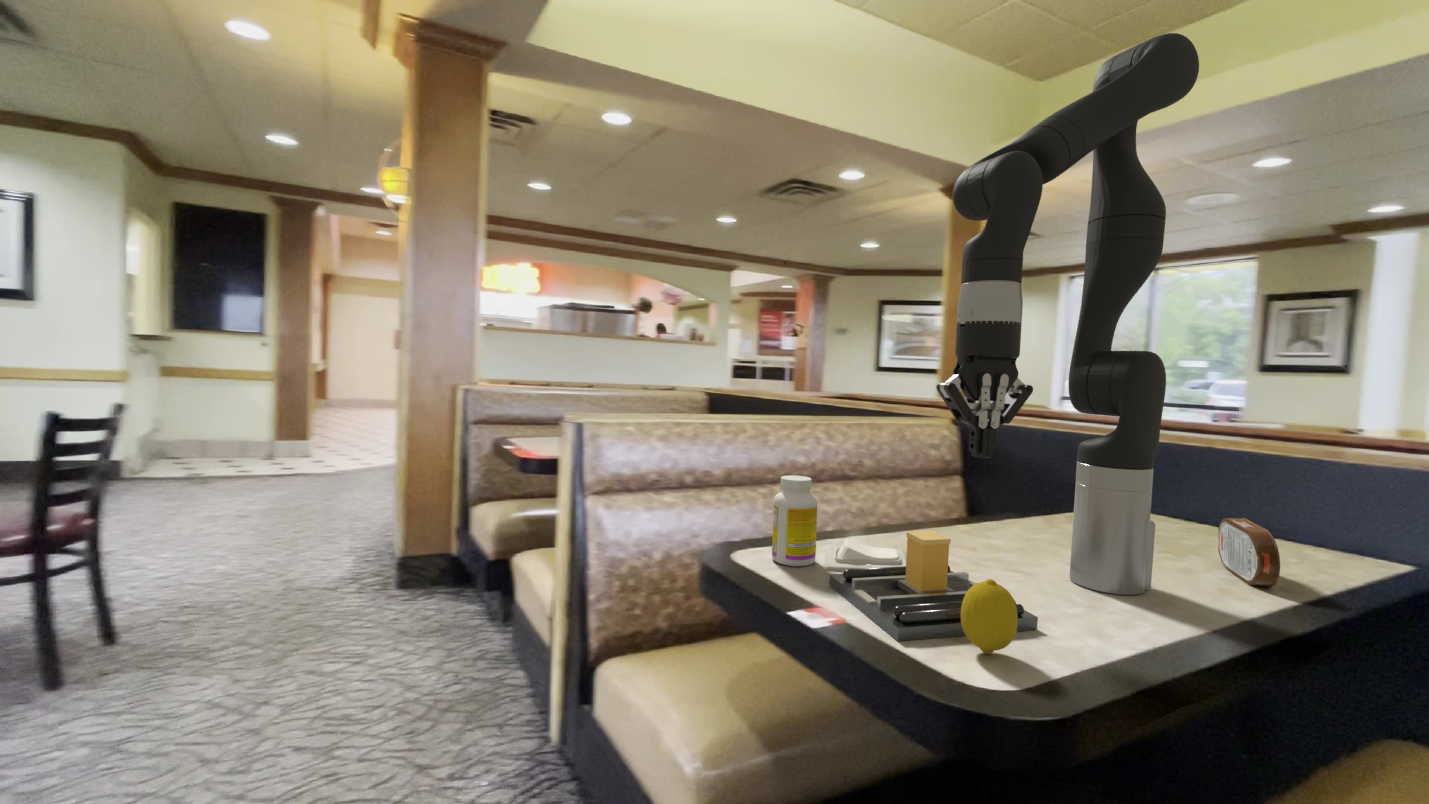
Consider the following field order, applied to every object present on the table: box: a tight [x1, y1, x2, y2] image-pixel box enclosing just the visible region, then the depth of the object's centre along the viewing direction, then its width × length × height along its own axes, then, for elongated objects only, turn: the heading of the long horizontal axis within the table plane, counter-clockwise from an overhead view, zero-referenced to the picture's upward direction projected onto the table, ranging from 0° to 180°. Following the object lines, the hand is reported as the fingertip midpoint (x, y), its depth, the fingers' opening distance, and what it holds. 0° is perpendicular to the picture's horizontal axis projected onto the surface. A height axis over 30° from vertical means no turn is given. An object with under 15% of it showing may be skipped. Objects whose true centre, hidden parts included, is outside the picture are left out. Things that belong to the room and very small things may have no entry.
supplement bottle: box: [771, 474, 818, 567], centre depth 97 cm, size 7×7×13 cm
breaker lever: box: [898, 530, 955, 595], centre depth 80 cm, size 5×5×7 cm
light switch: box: [823, 538, 907, 573], centre depth 98 cm, size 11×4×13 cm
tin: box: [1217, 517, 1281, 588], centre depth 96 cm, size 15×3×8 cm, turn 160°
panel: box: [828, 564, 1039, 642], centre depth 80 cm, size 18×18×3 cm
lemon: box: [961, 578, 1018, 655], centre depth 67 cm, size 6×6×8 cm
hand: (981, 457), depth 81 cm, fingers closed
